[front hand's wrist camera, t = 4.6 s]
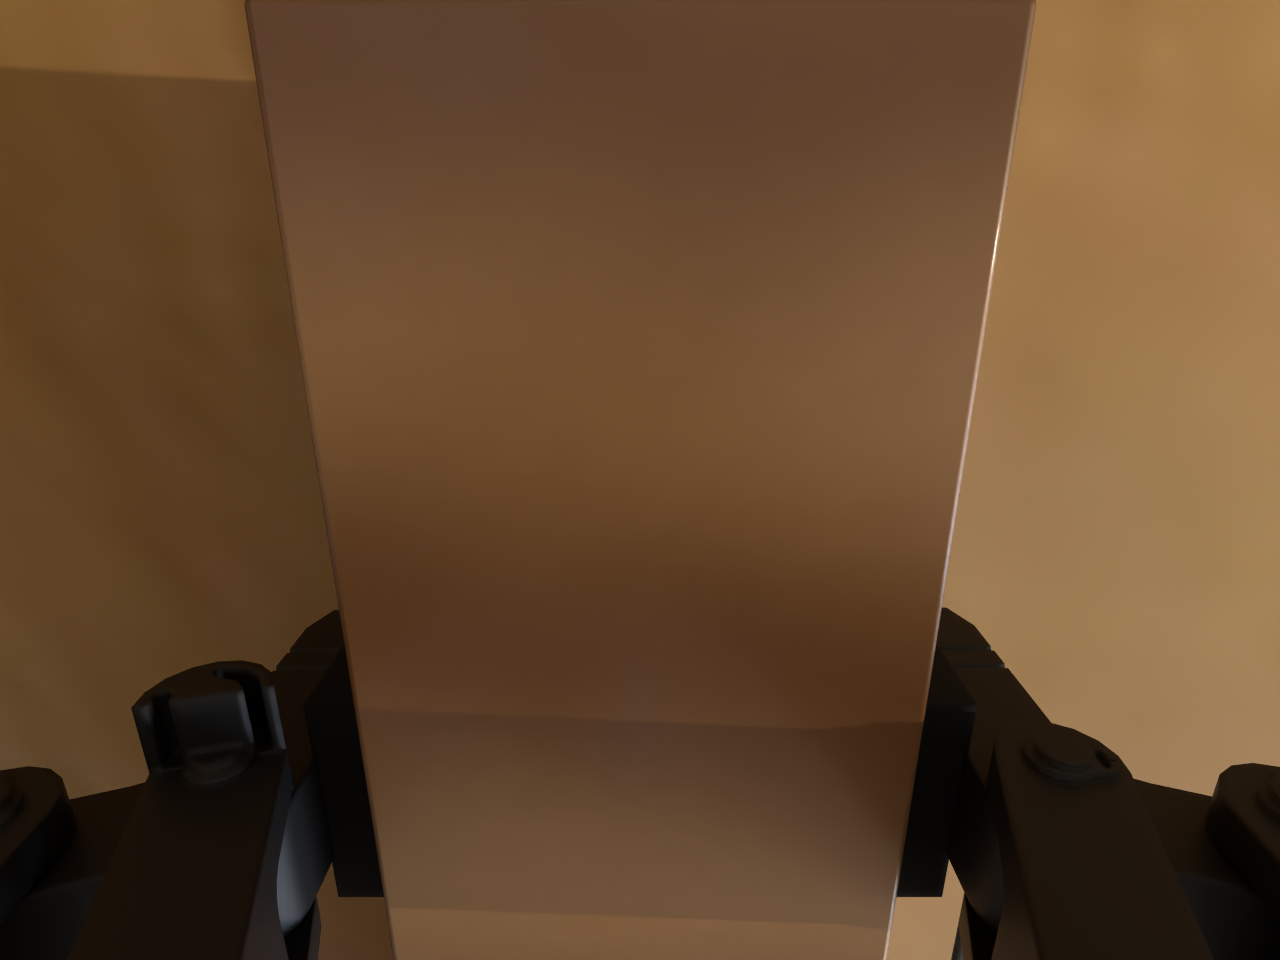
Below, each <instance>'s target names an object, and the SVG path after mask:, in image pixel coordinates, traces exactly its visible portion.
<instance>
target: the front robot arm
mask: <svg viewBox="0 0 1280 960" xmlns="http://www.w3.org/2000/svg"><path fill="white" fill-rule="evenodd" d="M1004 665H1005V664H1004V663H1003V661H1002V660H1001V659H1000V658H999V656H998V655H997V654H996V652H995V651H991V646H990V645H989V644H988V642H987V641H986V640H985V639H984V637H983V636H982V635H981V634H980V632H979V631H978V630H977V628H976V627H975V626H974V625H973V624H971V623H969V622H968V621H966V620H965V619H963V618H962V617H960V616H959V615H957V614H955V613H954V612H952V611H951V610H949V609H948V608H942V609H941V615H940V622H939V628H938V634H937V641H936V647H935V654H934V660H933V666H932V673H931V679H930V685H929V692H928V698H927V704H926V711H925V717H924V724H923V730H922V736H921V743H920V749H919V755H918V762H917V768H916V775H915V781H914V787H913V794H912V800H911V806H910V813H909V819H908V826H907V832H906V838H905V845H904V851H903V857H902V864H901V870H900V876H899V883H898V889H897V896H896V897H942V894H943V888H944V883H945V877H946V872H947V867H948V861H949V860H950V862H951V864H952V866H953V869H954V871H955V873H956V875H957V877H958V879H959V881H960V883H961V885H962V888H963V890H964V898H963V903H962V908H961V913H960V918H959V923H958V928H957V933H956V938H955V943H954V948H953V953H952V958H951V960H1280V767H1276V766H1269V765H1263V764H1256V763H1249V764H1241V765H1232V766H1230V767H1229V768H1228V769H1226V770H1225V771H1224V772H1222V773H1221V774H1220V775H1219V778H1218V781H1217V784H1216V787H1215V790H1214V793H1213V796H1207V795H1202V794H1198V793H1193V792H1188V791H1184V790H1179V789H1174V788H1170V787H1165V786H1160V785H1156V784H1151V783H1147V782H1144V781H1140V780H1137V779H1133V777H1132V775H1131V773H1130V771H1129V770H1128V769H1127V767H1126V766H1125V764H1124V763H1123V762H1122V760H1121V759H1120V758H1119V756H1118V755H1116V754H1115V753H1114V752H1112V751H1111V750H1110V749H1108V748H1107V747H1106V746H1104V745H1103V744H1102V743H1100V742H1099V741H1098V740H1096V739H1093V738H1091V737H1089V736H1087V735H1085V734H1083V733H1081V732H1079V731H1077V730H1075V729H1072V728H1068V727H1064V726H1060V725H1057V724H1053V723H1051V722H1050V721H1049V719H1048V718H1047V717H1046V716H1045V714H1044V713H1043V712H1042V711H1041V709H1040V708H1039V707H1038V706H1037V704H1036V703H1035V702H1034V700H1033V699H1032V698H1031V697H1030V695H1029V694H1028V693H1027V692H1026V690H1025V689H1024V688H1023V687H1022V685H1021V684H1020V683H1019V682H1018V680H1017V679H1016V678H1015V676H1014V675H1013V674H1012V673H1011V671H1010V670H1009V669H1008V668H1005V666H1004ZM131 709H132V712H133V716H134V720H135V723H136V727H137V730H138V734H139V738H140V741H141V745H142V748H143V752H144V755H145V759H146V763H147V766H148V770H149V773H150V774H149V776H148V778H147V781H146V782H145V783H141V784H138V785H134V786H131V787H126V788H121V789H117V790H112V791H107V792H103V793H98V794H93V795H89V796H84V797H80V798H75V799H70V800H69V797H68V794H67V791H66V788H65V785H64V782H63V779H62V777H60V776H59V775H58V774H56V773H55V772H54V771H52V770H51V769H47V768H39V767H31V766H28V767H21V768H14V769H7V770H1V771H0V960H318V951H319V942H320V933H321V921H320V914H319V908H318V903H317V898H316V895H317V893H318V890H319V888H320V886H321V884H322V882H323V880H324V878H325V876H326V873H327V871H328V869H329V867H330V865H331V863H332V864H333V869H334V875H335V880H336V886H337V891H338V896H339V897H384V893H383V886H382V880H381V874H380V867H379V861H378V854H377V848H376V842H375V835H374V829H373V822H372V816H371V810H370V803H369V797H368V790H367V784H366V778H365V771H364V765H363V759H362V752H361V746H360V739H359V733H358V727H357V720H356V714H355V707H354V701H353V695H352V688H351V682H350V675H349V669H348V663H347V656H346V650H345V643H344V637H343V631H342V624H341V618H340V612H339V610H334V611H332V612H331V613H329V614H328V615H326V616H325V617H323V618H321V619H320V620H318V621H317V622H315V623H314V624H312V625H311V626H309V627H308V628H306V630H305V631H304V632H303V633H302V635H301V636H300V637H299V639H298V640H297V641H296V642H295V644H294V645H293V646H292V647H291V649H290V653H287V654H286V655H285V656H284V658H283V659H282V660H281V661H280V663H279V664H278V665H277V669H276V671H273V672H272V673H271V672H270V671H269V670H267V669H266V668H265V667H264V666H262V665H261V664H257V663H252V662H247V661H222V662H215V663H210V664H206V665H202V666H198V667H193V668H190V669H188V670H185V671H183V672H181V673H178V674H176V675H173V676H171V677H169V678H166V679H165V680H163V681H161V682H160V683H158V684H157V685H155V686H154V687H152V688H151V689H149V690H148V691H146V692H145V693H144V694H143V695H142V696H141V697H140V698H139V700H138V701H137V702H136V703H135V704H134V705H133V707H132V708H131Z"/></svg>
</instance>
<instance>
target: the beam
mask: <svg viewBox="0 0 1280 960" xmlns="http://www.w3.org/2000/svg"><path fill="white" fill-rule="evenodd" d="M1035 10H1036V0H245V11H246V17H247V24H248V30H249V36H250V43H251V49H252V55H253V62H254V68H255V75H256V81H257V87H258V94H259V100H260V107H261V113H262V119H263V126H264V132H265V139H266V145H267V151H268V158H269V164H270V171H271V177H272V183H273V190H274V196H275V202H276V209H277V215H278V222H279V228H280V234H281V241H282V247H283V254H284V260H285V266H286V273H287V279H288V286H289V292H290V298H291V305H292V311H293V318H294V324H295V330H296V337H297V343H298V349H299V356H300V362H301V369H302V375H303V381H304V388H305V394H306V401H307V407H308V413H309V420H310V426H311V433H312V439H313V445H314V452H315V458H316V465H317V471H318V477H319V484H320V490H321V496H322V503H323V509H324V516H325V522H326V528H327V535H328V541H329V548H330V554H331V560H332V567H333V573H334V580H335V586H336V592H337V599H338V605H339V612H340V618H341V624H342V631H343V637H344V643H345V650H346V656H347V663H348V669H349V675H350V682H351V688H352V695H353V701H354V707H355V714H356V720H357V727H358V733H359V739H360V746H361V752H362V759H363V765H364V771H365V778H366V784H367V790H368V797H369V803H370V810H371V816H372V822H373V829H374V835H375V842H376V848H377V854H378V861H379V867H380V874H381V880H382V886H383V893H384V899H385V906H386V912H387V918H388V925H389V931H390V937H391V944H392V950H393V957H394V960H886V959H887V953H888V947H889V940H890V934H891V927H892V921H893V915H894V908H895V902H896V896H897V889H898V883H899V876H900V870H901V864H902V857H903V851H904V845H905V838H906V832H907V826H908V819H909V813H910V806H911V800H912V794H913V787H914V781H915V775H916V768H917V762H918V755H919V749H920V743H921V736H922V730H923V724H924V717H925V711H926V704H927V698H928V692H929V685H930V679H931V673H932V666H933V660H934V654H935V647H936V641H937V634H938V628H939V622H940V615H941V609H942V603H943V596H944V590H945V583H946V577H947V571H948V564H949V558H950V552H951V545H952V539H953V532H954V526H955V520H956V513H957V507H958V501H959V494H960V488H961V482H962V475H963V469H964V462H965V456H966V450H967V443H968V437H969V431H970V424H971V418H972V411H973V405H974V399H975V392H976V386H977V380H978V373H979V367H980V360H981V354H982V348H983V341H984V335H985V329H986V322H987V316H988V310H989V303H990V297H991V290H992V284H993V278H994V271H995V265H996V259H997V252H998V246H999V239H1000V233H1001V227H1002V220H1003V214H1004V208H1005V201H1006V195H1007V188H1008V182H1009V176H1010V169H1011V163H1012V157H1013V150H1014V144H1015V138H1016V131H1017V125H1018V118H1019V112H1020V106H1021V99H1022V93H1023V87H1024V80H1025V74H1026V67H1027V61H1028V55H1029V48H1030V42H1031V36H1032V29H1033V23H1034V16H1035Z"/></svg>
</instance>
